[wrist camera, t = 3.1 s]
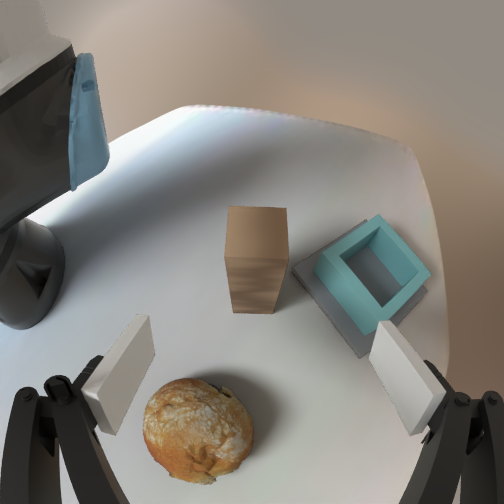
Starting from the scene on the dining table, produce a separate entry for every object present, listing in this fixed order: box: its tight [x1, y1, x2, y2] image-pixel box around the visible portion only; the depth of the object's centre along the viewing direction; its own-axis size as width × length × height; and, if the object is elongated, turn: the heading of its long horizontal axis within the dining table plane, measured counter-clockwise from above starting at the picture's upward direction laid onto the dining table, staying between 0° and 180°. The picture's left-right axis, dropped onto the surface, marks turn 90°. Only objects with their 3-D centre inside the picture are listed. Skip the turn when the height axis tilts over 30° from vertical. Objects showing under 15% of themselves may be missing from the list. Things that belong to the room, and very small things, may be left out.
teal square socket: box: [292, 214, 431, 358], centre depth 27 cm, size 12×12×5 cm
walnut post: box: [224, 206, 289, 314], centre depth 23 cm, size 4×4×12 cm
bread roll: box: [143, 378, 254, 485], centre depth 20 cm, size 10×10×8 cm
